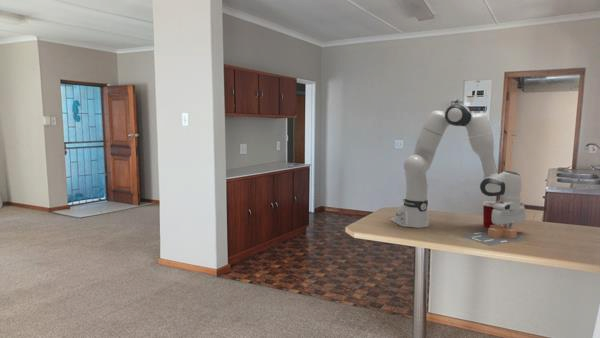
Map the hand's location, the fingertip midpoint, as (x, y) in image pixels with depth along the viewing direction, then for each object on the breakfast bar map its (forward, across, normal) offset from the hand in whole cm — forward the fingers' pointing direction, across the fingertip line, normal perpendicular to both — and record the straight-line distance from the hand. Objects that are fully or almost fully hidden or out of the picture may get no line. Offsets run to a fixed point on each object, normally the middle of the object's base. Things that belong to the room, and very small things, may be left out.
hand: (508, 231), depth 201 cm
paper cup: (+3, -5, -15) cm, 16 cm away
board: (+2, +11, 0) cm, 11 cm away
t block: (+2, +6, 0) cm, 6 cm away
